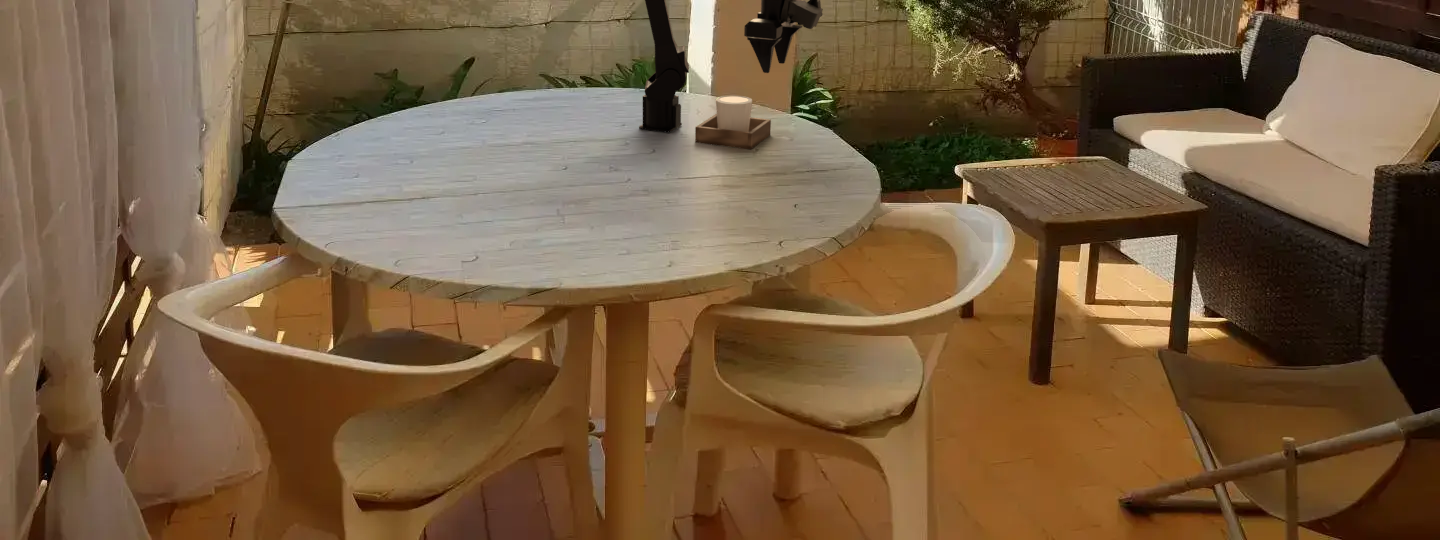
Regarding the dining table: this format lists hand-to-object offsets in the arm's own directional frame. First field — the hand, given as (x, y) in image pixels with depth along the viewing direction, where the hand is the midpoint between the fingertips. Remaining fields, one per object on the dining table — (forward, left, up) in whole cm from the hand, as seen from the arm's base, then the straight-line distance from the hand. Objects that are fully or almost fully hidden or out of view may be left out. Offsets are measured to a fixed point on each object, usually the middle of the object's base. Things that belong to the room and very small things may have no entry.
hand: (774, 67), depth 240 cm
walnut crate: (-5, -9, -12) cm, 16 cm away
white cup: (-5, -9, -12) cm, 16 cm away
